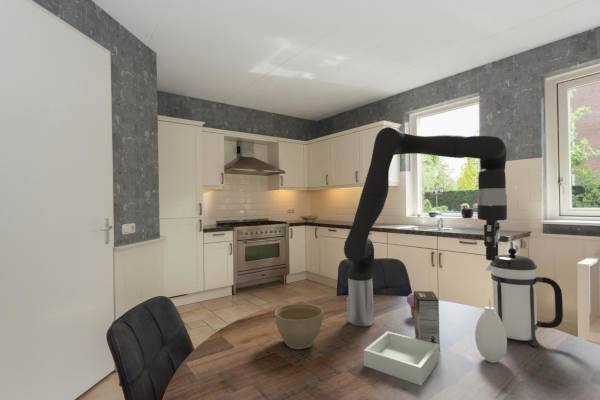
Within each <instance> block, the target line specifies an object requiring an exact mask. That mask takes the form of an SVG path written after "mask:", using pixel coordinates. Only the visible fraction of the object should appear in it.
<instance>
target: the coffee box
mask: <svg viewBox="0 0 600 400" xmlns="http://www.w3.org/2000/svg"><path fill="white" fill-rule="evenodd" d="M413 292H414V314H415V318H414V338H416V339H420V340H424V341H428V342H432V343H435V344H439V352H440V351H441V344H440V343H441V342H440V339H441V337H440V305H439V304H440V303H439V301H440V300H439V298H437V295H436V294H435V293H434V291H432V290H431V291H423V290H422V291H419V290H418V291H417V290H415V291H413Z"/></svg>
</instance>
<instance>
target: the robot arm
mask: <svg viewBox="0 0 600 400" xmlns="http://www.w3.org/2000/svg"><path fill="white" fill-rule="evenodd" d="M373 143H374V144H373V149H372V154H371V160H370V164H369V167H368V168H369V169H368V171H367V174H366V177H365V182H364V184H363V187H362V190H361V195H360V198H359V201H358V206H357V207H356V208H357V209H356V211H355V215H354V219H353V222H352V225H351V228H350V230H349V231H348V234H347V237H346V240H345V242H344V247H343V252H344V256H345V258H346V259H347V260H348V261H349V262H352V263H351V266H350V268H349V270H348V271H347V276H348V277H347V278H348V279H347V283H348V296H346V321H347V323H350V325H353V326H356V327H370V326H372V325H374V323H375V322H374V290H373V274H374V273H373V272H374V269H375V247H374V244H373V241H372V240H371V239H370V238H369V236H370V232H371V229H372V228H373V225H375V223H376V221H377V220H378V218H379V217H380V215H381V213H382V212H383V210H384V207H385V204H386V200H387V198H388V194H389V186H390V185H389V183H390V182H389V181H390V180H389V177H390V176H389V175H390V174H389V172H390V168H391V167H390V166H391V164H392V161H393V158H394V156H395V155H408V154H415V155H416V154H417V155H418V154H420V155H429V156H437V157H445V158H455V159H464V158H468V159H469V158H470V159H479V160H480V161H479V162H480V163H479V165H480V168H479V169H480V170H479V173H478V179H477V180H478V181H477V183H478V185H477V187H478V190H477V198H476V199H477V203H476V205H477V206H476V207H477V219H478V220H481V221H486V223H485V224H484V225H483V240H484V241H483V244H484V247H485V259H486V261H490V262H491V261H494V260H495V257H496V256H498V255H499V244H500V240H501V226H500V224H501V223H500V222H499V221H506V220H507V218H508V195H507V190H506V189H507V187H506V186H507V184H506V180H507V179H506V171H505V170H506V162H507V147H506V146H507V145H506V143H505V142H504V141H503V139H501V138H500V137H497V136H495V135H469V136H467V135H457V134H456V135H455V134H436V135H435V134H434V135H414V134H410V133H405V132H402V131H401V130H399V129H396V128H394V127H391V126H386V127H384V128H382V129H380V130H379V131H378V133H377V134H376V136H375V140H374V142H373Z"/></svg>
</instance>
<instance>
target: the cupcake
mask: <svg viewBox="0 0 600 400" xmlns="http://www.w3.org/2000/svg"><path fill="white" fill-rule="evenodd" d="M406 303H407V304H408V305H409V306H410V313H411V317H412V318H413V319H415V314H414V291H413V292H411V293H410V294H409V295H408V296H407V297H406Z"/></svg>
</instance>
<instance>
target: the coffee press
mask: <svg viewBox="0 0 600 400" xmlns="http://www.w3.org/2000/svg"><path fill="white" fill-rule="evenodd" d="M507 252H508V254H498V256H495V260H494V261H491V260H490V264H489V265H488V266H487V267H486V269H485V270H486V271H488V272H489V271H490V272H491V274H490V275H491V281H492V282H491V283H492V307H493V308H495V312H496V313H497V314H498V316H499V317H500V319H501V321H502V323H503V326H504V328H505V332H506V336H507V339H512V340H516V341H527V342H528V343H530V345H531V347H533V348H538V347H540V343H539V341H538V339H537V337H538V329H539V328H544V329H554V328H557V327H559V326H560V325H561V324H562V321H563V318H564V314H563V313H564V311H563V310H564V307H563V305H564V304H563V292H562V289H561V287H560V285H559V284H558V283H557V281H555V280H553V279H552V278H550V277H547V276H545V277H544V276H542V277H541V276H536V275H537V274H536V270H537V268H538V266H537V264H536V263H535V261H534V260H533V259H532V258H530V257H528V256H525V255H517V254H516V253H517V250H516V248H514V247H511V248H508V251H507ZM538 283H543V284H547V285H550V286H551V287H552V289H553V291H554V312H555V313H554V318H553V319H552V320H551V321H540V320H538V306H537V305H538V304H537V284H538Z"/></svg>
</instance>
